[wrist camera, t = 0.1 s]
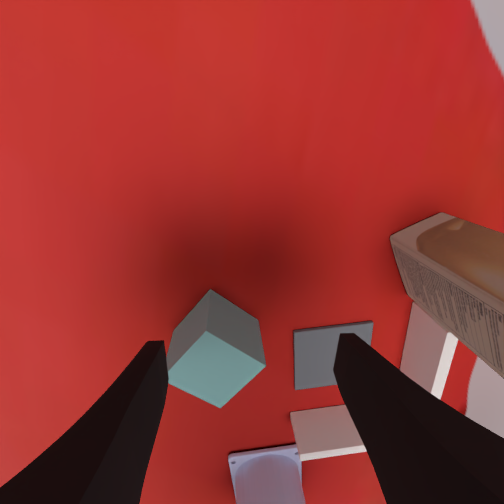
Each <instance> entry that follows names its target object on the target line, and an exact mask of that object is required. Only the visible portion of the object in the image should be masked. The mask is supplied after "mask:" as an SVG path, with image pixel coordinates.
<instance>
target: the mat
mask: <svg viewBox="0 0 504 504" xmlns="http://www.w3.org/2000/svg"><path fill="white" fill-rule="evenodd" d="M372 330H373V322H372V321H365V322H357V323H349V324H341V325H333V326H325V327H317V328H308V329H300V330H293V334H294V383H295V390H300V389H307V388H315V387H322V386H330V385H337V382H336V378H335V375H334V372H333V367H334V362H335V356H336V351H337V346H338V341H339V335H340V333H355V334H356V335H357V336H359V337H360V338H361V339H362V340H364V341H365V342H366V343H367V344H368V345H370V346H371V338H372Z"/></svg>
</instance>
